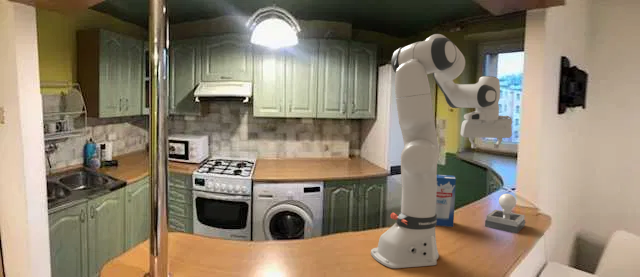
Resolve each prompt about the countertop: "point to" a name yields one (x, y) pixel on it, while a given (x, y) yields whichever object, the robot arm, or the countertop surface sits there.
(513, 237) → the countertop surface
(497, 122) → the robot arm
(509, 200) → the lightbulb
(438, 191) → the milk carton
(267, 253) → the countertop surface
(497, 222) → the socket
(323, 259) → the countertop surface
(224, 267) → the countertop surface
